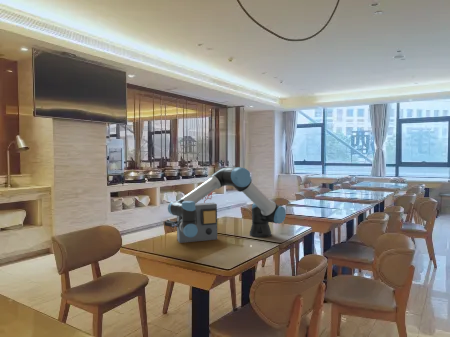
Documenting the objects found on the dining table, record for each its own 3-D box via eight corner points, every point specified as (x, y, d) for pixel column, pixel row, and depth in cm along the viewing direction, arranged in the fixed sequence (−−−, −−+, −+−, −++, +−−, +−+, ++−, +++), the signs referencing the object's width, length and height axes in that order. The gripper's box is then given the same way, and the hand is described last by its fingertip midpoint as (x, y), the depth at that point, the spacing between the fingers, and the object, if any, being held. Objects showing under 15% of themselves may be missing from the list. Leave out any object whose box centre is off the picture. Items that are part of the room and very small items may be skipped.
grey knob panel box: (177, 240, 236) (176, 204, 235) (214, 236, 244) (213, 202, 243) (180, 243, 226) (179, 206, 225) (218, 239, 234) (217, 204, 234)
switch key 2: (202, 222, 233) (202, 210, 232) (214, 221, 235) (214, 210, 235) (204, 223, 230) (203, 211, 229) (215, 222, 232) (215, 210, 232)
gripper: (164, 234, 199) (159, 227, 220) (206, 230, 207) (197, 224, 227) (163, 221, 199) (158, 215, 219) (206, 218, 207) (197, 212, 227)
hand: (178, 220), depth 223 cm, fingers open, 13 cm apart
